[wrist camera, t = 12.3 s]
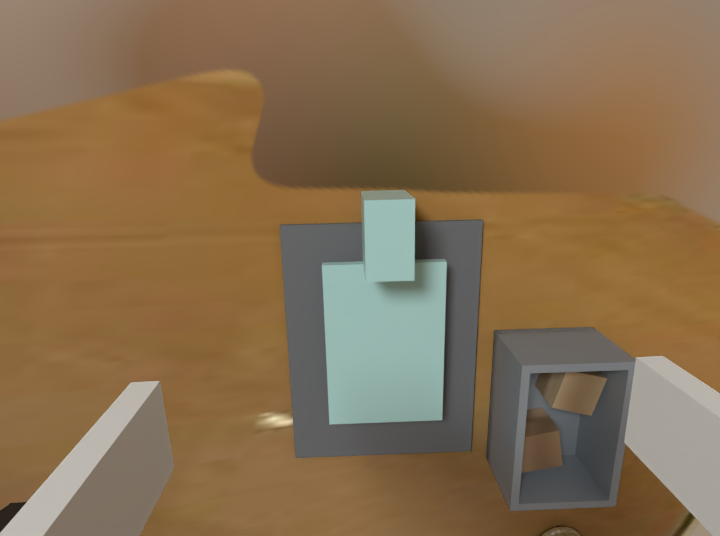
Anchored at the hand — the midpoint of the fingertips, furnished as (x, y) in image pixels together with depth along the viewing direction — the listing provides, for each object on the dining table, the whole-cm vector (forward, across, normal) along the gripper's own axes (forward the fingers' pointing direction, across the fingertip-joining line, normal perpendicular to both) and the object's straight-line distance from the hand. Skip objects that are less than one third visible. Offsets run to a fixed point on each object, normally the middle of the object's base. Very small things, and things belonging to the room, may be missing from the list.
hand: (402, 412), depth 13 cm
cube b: (+22, +16, -11) cm, 29 cm away
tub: (+22, +14, -14) cm, 30 cm away
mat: (+22, +1, -8) cm, 24 cm away
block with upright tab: (+22, +1, -5) cm, 23 cm away
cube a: (+22, +13, -16) cm, 30 cm away
